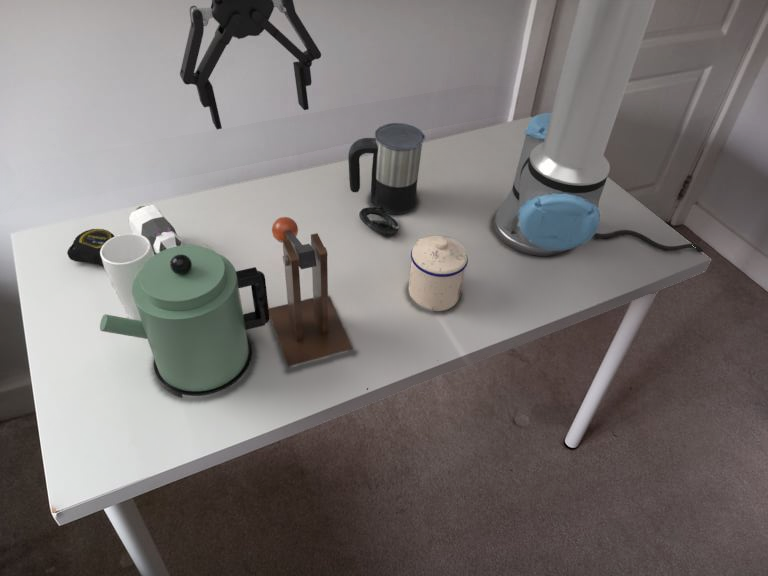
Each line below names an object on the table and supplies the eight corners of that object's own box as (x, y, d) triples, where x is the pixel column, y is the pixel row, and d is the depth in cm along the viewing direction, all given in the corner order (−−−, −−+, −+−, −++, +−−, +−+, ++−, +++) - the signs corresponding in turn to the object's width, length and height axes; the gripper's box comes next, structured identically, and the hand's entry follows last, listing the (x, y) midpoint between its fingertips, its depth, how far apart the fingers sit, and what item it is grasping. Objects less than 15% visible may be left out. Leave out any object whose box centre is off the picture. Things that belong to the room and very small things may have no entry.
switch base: (267, 313, 95) (257, 227, 83) (327, 299, 98) (326, 213, 86) (288, 370, 88) (280, 284, 75) (352, 352, 91) (354, 266, 78)
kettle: (261, 310, 96) (248, 208, 81) (284, 377, 87) (274, 275, 72) (118, 345, 89) (75, 240, 75) (127, 421, 80) (81, 319, 66)
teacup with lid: (469, 306, 99) (481, 254, 91) (419, 318, 96) (426, 265, 88) (439, 260, 107) (448, 208, 99) (392, 270, 104) (397, 217, 96)
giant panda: (133, 244, 105) (119, 200, 98) (163, 233, 108) (152, 190, 101) (168, 293, 97) (156, 249, 91) (200, 280, 100) (190, 236, 93)
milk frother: (407, 184, 123) (413, 119, 113) (438, 230, 113) (448, 163, 102) (341, 195, 119) (341, 129, 108) (367, 245, 109) (370, 177, 98)
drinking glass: (131, 305, 95) (105, 232, 84) (175, 304, 96) (155, 232, 85) (121, 337, 90) (93, 264, 80) (167, 336, 91) (145, 264, 80)
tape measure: (69, 265, 101) (62, 248, 98) (92, 240, 105) (86, 223, 103) (106, 273, 100) (100, 256, 97) (128, 247, 105) (122, 231, 102)
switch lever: (271, 240, 94) (267, 216, 92) (296, 235, 95) (292, 211, 93) (295, 276, 81) (291, 249, 79) (323, 270, 82) (320, 243, 80)
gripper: (315, -57, 83) (328, 90, 97) (130, -33, 76) (174, 123, 90) (334, -47, 78) (346, 108, 92) (138, -19, 71) (183, 144, 85)
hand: (261, 116), depth 91 cm, fingers open, 13 cm apart
